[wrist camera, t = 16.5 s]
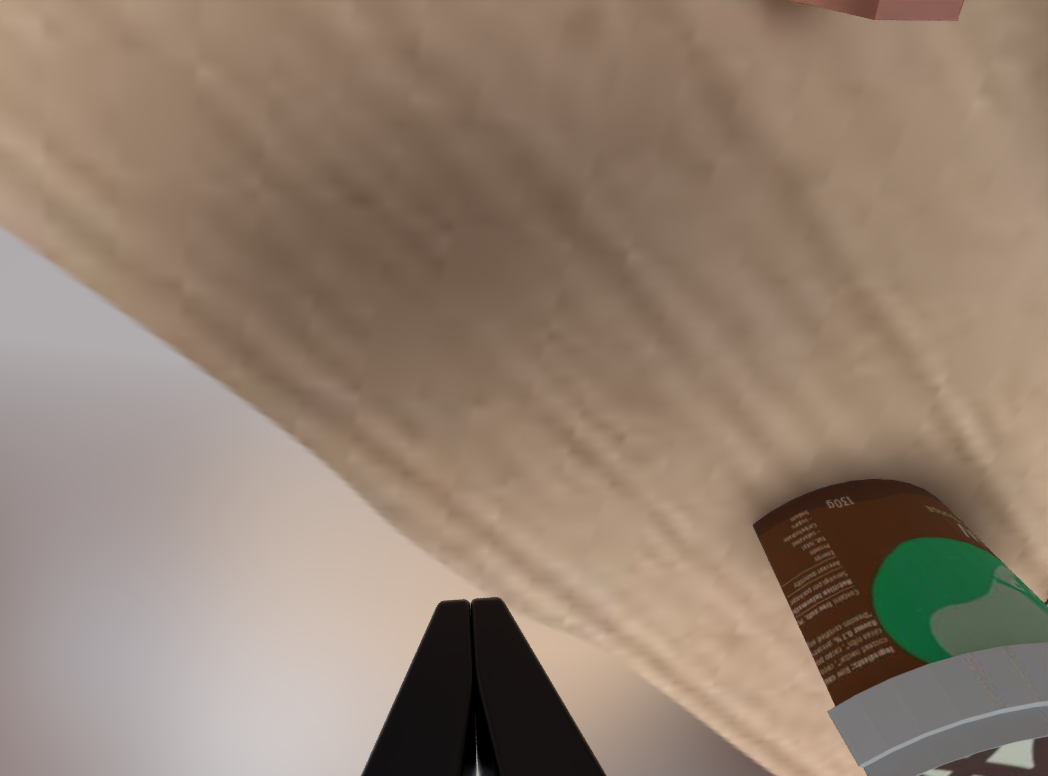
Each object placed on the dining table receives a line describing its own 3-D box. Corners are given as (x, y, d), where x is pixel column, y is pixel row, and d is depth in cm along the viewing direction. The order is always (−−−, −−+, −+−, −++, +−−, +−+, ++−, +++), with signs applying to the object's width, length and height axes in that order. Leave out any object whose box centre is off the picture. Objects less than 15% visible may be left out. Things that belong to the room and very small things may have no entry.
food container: (1043, 547, 29) (1291, 805, 20) (912, 634, 31) (1089, 899, 23) (867, 390, 24) (1103, 648, 15) (726, 507, 26) (864, 789, 18)
